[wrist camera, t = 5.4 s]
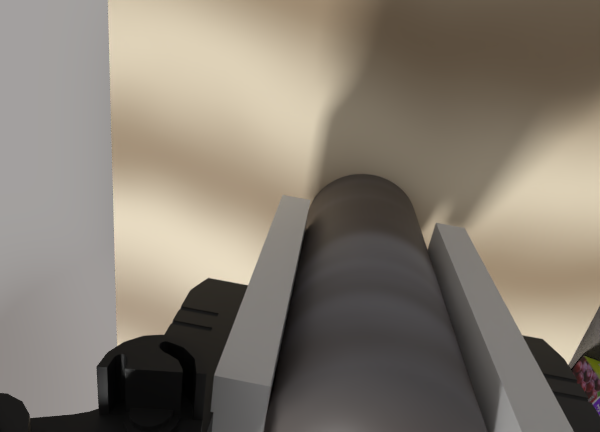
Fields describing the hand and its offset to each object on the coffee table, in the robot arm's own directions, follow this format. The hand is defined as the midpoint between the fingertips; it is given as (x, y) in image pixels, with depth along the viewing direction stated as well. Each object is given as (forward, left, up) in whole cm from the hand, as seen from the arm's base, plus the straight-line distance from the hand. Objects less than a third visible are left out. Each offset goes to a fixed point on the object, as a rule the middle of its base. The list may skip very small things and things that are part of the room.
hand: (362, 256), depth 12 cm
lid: (0, 0, -5) cm, 5 cm away
